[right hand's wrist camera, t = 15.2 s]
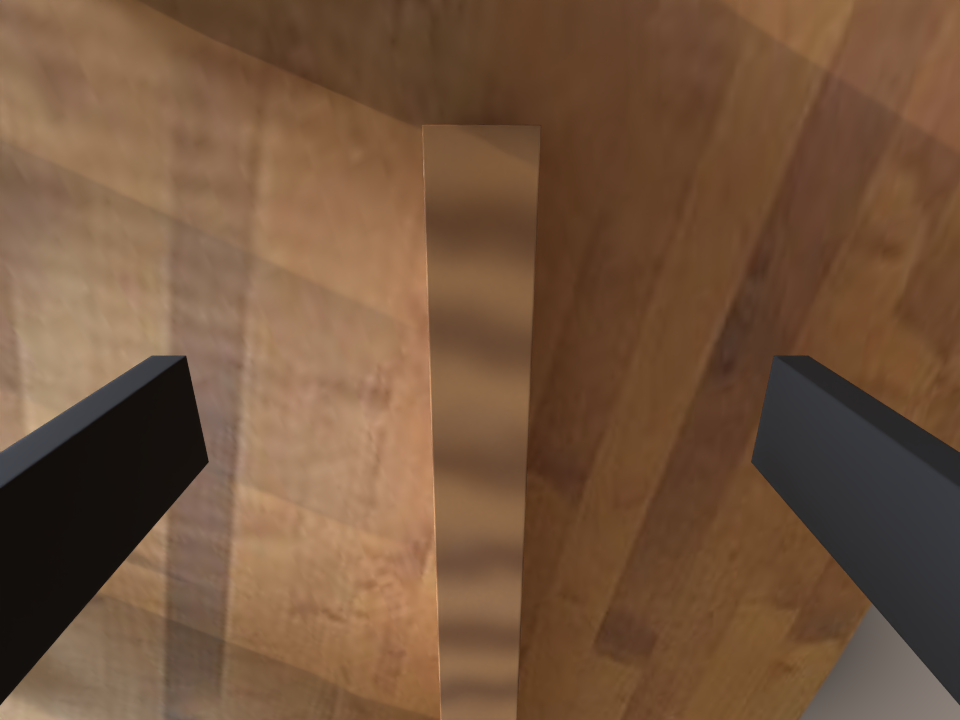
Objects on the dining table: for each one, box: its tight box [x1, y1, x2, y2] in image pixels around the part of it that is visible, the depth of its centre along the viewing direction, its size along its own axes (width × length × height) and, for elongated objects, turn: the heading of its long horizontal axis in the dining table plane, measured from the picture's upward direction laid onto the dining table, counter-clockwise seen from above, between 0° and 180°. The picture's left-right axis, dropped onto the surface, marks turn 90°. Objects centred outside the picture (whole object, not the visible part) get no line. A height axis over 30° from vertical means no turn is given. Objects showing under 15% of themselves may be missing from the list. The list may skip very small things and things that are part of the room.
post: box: [422, 124, 541, 720], centre depth 37 cm, size 57×5×8 cm, turn 0°
